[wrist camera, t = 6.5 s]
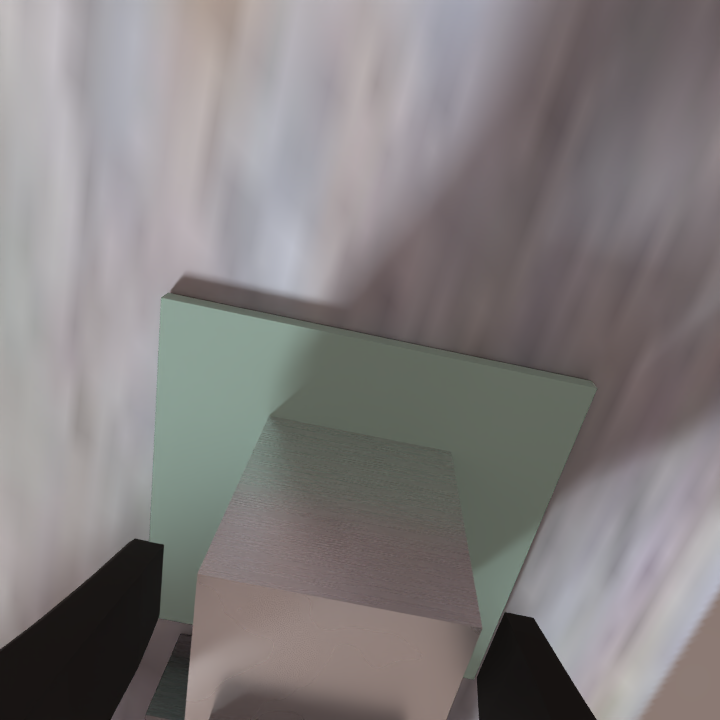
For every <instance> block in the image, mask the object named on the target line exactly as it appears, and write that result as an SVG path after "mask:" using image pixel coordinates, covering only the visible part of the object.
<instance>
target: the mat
mask: <svg viewBox="0 0 720 720" xmlns="http://www.w3.org/2000/svg"><path fill="white" fill-rule="evenodd" d="M596 391H597V387H596V386H595V385H594V384H593V382H592V381H589V380H584V379H579V378H575V377H570V376H565V375H560V374H556V373H551V372H546V371H541V370H536V369H532V368H527V367H522V366H517V365H512V364H508V363H503V362H498V361H493V360H488V359H484V358H479V357H474V356H469V355H464V354H460V353H455V352H450V351H445V350H440V349H436V348H431V347H426V346H421V345H416V344H412V343H407V342H402V341H397V340H392V339H388V338H383V337H378V336H373V335H368V334H364V333H359V332H354V331H349V330H344V329H340V328H335V327H330V326H325V325H320V324H316V323H311V322H306V321H301V320H296V319H292V318H287V317H282V316H277V315H272V314H268V313H263V312H258V311H253V310H248V309H244V308H239V307H234V306H229V305H225V304H220V303H215V302H210V301H205V300H201V299H196V298H191V297H186V296H181V295H177V294H172V293H167V294H166V295H164V296H163V297H161V309H160V330H159V351H158V372H157V392H156V413H155V434H154V455H153V476H152V496H151V517H150V538H149V542H154V543H159V544H164V554H163V570H162V586H161V602H160V616H159V618H160V619H166V620H171V621H176V622H181V623H186V624H191V625H193V618H194V606H195V595H196V583H197V573H198V571H199V569H200V567H201V565H202V562H203V560H204V558H205V556H206V554H207V551H208V549H209V547H210V545H211V543H212V540H213V538H214V536H215V534H216V532H217V529H218V527H219V525H220V523H221V520H222V518H223V516H224V514H225V512H226V509H227V507H228V505H229V503H230V501H231V498H232V496H233V494H234V492H235V490H236V487H237V485H238V483H239V481H240V479H241V476H242V474H243V472H244V470H245V468H246V465H247V463H248V461H249V459H250V456H251V454H252V452H253V450H254V448H255V445H256V443H257V441H258V439H259V437H260V434H261V432H262V430H263V428H264V426H265V423H266V421H267V419H268V417H269V416H273V417H278V418H283V419H288V420H293V421H298V422H303V423H308V424H313V425H318V426H323V427H328V428H334V429H339V430H344V431H349V432H354V433H359V434H364V435H369V436H374V437H379V438H384V439H389V440H394V441H399V442H405V443H410V444H415V445H420V446H425V447H430V448H435V449H440V450H445V451H450V452H451V454H452V459H453V465H454V471H455V476H456V482H457V488H458V493H459V499H460V505H461V510H462V516H463V521H464V527H465V533H466V538H467V544H468V550H469V555H470V561H471V566H472V572H473V578H474V583H475V589H476V595H477V600H478V606H479V612H480V617H481V623H482V631H481V633H480V636H479V638H478V641H477V644H476V646H475V649H474V651H473V654H472V656H471V659H470V661H469V664H468V666H467V669H466V671H465V674H464V676H463V678H467V679H472V680H474V678H475V675H476V673H477V671H478V668H479V666H480V664H481V661H482V659H483V657H484V654H485V652H486V650H487V647H488V645H489V642H490V640H491V638H492V635H493V633H494V631H495V628H496V626H497V624H498V621H499V619H500V617H501V614H502V612H503V609H504V607H505V605H506V602H507V600H508V598H509V595H510V593H511V591H512V588H513V586H514V584H515V581H516V579H517V577H518V574H519V572H520V569H521V567H522V565H523V562H524V560H525V558H526V555H527V553H528V551H529V548H530V546H531V544H532V541H533V539H534V537H535V534H536V532H537V529H538V527H539V525H540V522H541V520H542V518H543V515H544V513H545V511H546V508H547V506H548V504H549V501H550V499H551V496H552V494H553V492H554V489H555V487H556V485H557V482H558V480H559V478H560V475H561V473H562V471H563V468H564V466H565V464H566V461H567V459H568V456H569V454H570V452H571V449H572V447H573V445H574V442H575V440H576V438H577V435H578V433H579V431H580V428H581V426H582V423H583V421H584V419H585V416H586V414H587V412H588V409H589V407H590V405H591V402H592V400H593V398H594V395H595V393H596Z"/></svg>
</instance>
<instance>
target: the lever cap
mask: <svg viewBox="0 0 720 720" xmlns="http://www.w3.org/2000/svg"><path fill="white" fill-rule="evenodd" d="M481 631H482V623H481V617H480V612H479V606H478V600H477V595H476V589H475V583H474V578H473V572H472V566H471V561H470V555H469V550H468V544H467V538H466V533H465V527H464V521H463V516H462V510H461V505H460V499H459V493H458V488H457V482H456V476H455V471H454V465H453V459H452V454H451V452H450V451H445V450H440V449H435V448H430V447H425V446H420V445H415V444H410V443H405V442H399V441H394V440H389V439H384V438H379V437H374V436H369V435H364V434H359V433H354V432H349V431H344V430H339V429H334V428H328V427H323V426H318V425H313V424H308V423H303V422H298V421H293V420H288V419H283V418H278V417H273V416H269V417H268V419H267V421H266V423H265V426H264V428H263V430H262V432H261V434H260V437H259V439H258V441H257V443H256V445H255V448H254V450H253V452H252V454H251V456H250V459H249V461H248V463H247V465H246V468H245V470H244V472H243V474H242V476H241V479H240V481H239V483H238V485H237V487H236V490H235V492H234V494H233V496H232V498H231V501H230V503H229V505H228V507H227V509H226V512H225V514H224V516H223V518H222V520H221V523H220V525H219V527H218V529H217V532H216V534H215V536H214V538H213V540H212V543H211V545H210V547H209V549H208V551H207V554H206V556H205V558H204V560H203V562H202V565H201V567H200V569H199V571H198V573H197V583H196V595H195V606H194V618H193V629H192V640H191V652H190V663H189V675H188V686H187V698H186V709H185V720H446V719H447V716H448V714H449V711H450V709H451V706H452V704H453V701H454V699H455V696H456V694H457V691H458V689H459V686H460V684H461V681H462V679H463V676H464V674H465V671H466V669H467V666H468V664H469V661H470V659H471V656H472V654H473V651H474V649H475V646H476V644H477V641H478V638H479V636H480V633H481Z"/></svg>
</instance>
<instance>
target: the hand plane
mask: <svg viewBox="0 0 720 720" xmlns="http://www.w3.org/2000/svg"><path fill="white" fill-rule="evenodd" d="M191 640H192V636H188V635H183V634H180V636H179V639H178V641H177V643H176V645H175V648H174V650H173V652H172V655H171V657H170V659H169V662H168V664H167V666H166V669H165V671H164V673H163V676H162V678H161V680H160V683H159V685H158V687H157V689H156V692H155V694H154V696H153V699H152V701H151V703H150V706H149V708H148V710H147V713H146V715H145V720H185V709H186V698H187V686H188V675H189V663H190V652H191Z"/></svg>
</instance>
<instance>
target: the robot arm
mask: <svg viewBox="0 0 720 720" xmlns="http://www.w3.org/2000/svg"><path fill="white" fill-rule="evenodd" d="M163 554H164V544H159V543H154V542H148V541H143V540H138V539H134V540H132V541H130V542H129V543H128V544H127V545H126V546H124V547H123V548H122V549H121V550H120V551H119V552H118V553H117V554H116V555H115V556H114V557H112V558H111V559H110V560H109V561H108V562H107V563H106V564H105V565H104V566H102V567H101V568H100V569H99V570H98V571H97V572H96V573H94V574H93V575H92V576H91V577H90V578H89V579H88V580H86V581H85V582H84V583H83V584H82V585H81V586H79V587H78V588H77V589H76V590H75V591H74V592H72V593H71V594H70V595H69V596H68V597H66V598H65V599H64V600H63V601H61V602H60V603H59V604H58V605H57V606H55V607H54V608H53V609H52V610H51V611H49V612H48V613H47V614H46V615H44V616H43V617H42V618H41V619H40V620H38V621H37V622H36V623H35V624H33V625H32V626H31V627H29V628H28V629H27V630H25V631H24V632H23V633H21V634H20V635H19V636H18V637H16V638H15V639H14V640H12V641H11V642H10V643H8V644H7V645H6V646H4V647H3V648H2V649H0V720H110V719H111V718H112V716H113V714H114V712H115V710H116V708H117V706H118V704H119V703H120V701H121V699H122V697H123V695H124V693H125V691H126V689H127V688H128V686H129V684H130V682H131V680H132V678H133V676H134V674H135V672H136V670H137V669H138V667H139V664H140V662H141V659H142V657H143V655H144V652H145V650H146V648H147V645H148V643H149V640H150V638H151V635H152V633H153V631H154V628H155V626H156V623H157V621H158V618H159V616H160V602H161V586H162V570H163ZM477 688H478V708H479V720H597V719H596V718H595V716H594V715H593V713H592V712H591V710H590V709H589V707H588V706H587V704H586V702H585V701H584V699H583V698H582V696H581V695H580V693H579V691H578V690H577V688H576V687H575V685H574V683H573V682H572V680H571V678H570V677H569V675H568V674H567V672H566V670H565V669H564V667H563V665H562V664H561V662H560V661H559V659H558V657H557V656H556V654H555V652H554V651H553V649H552V647H551V646H550V644H549V642H548V641H547V639H546V638H545V636H544V634H543V633H542V631H541V629H540V628H539V626H538V625H537V623H536V621H535V620H534V618H531V617H526V616H521V615H516V614H511V613H506V612H505V613H504V615H503V618H502V620H501V622H500V625H499V627H498V629H497V632H496V634H495V636H494V639H493V641H492V643H491V646H490V648H489V650H488V653H487V655H486V657H485V660H484V662H483V664H482V667H481V669H480V671H479V674H478V676H477Z"/></svg>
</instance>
